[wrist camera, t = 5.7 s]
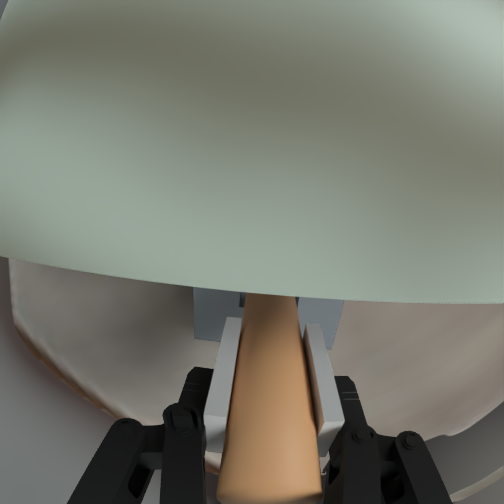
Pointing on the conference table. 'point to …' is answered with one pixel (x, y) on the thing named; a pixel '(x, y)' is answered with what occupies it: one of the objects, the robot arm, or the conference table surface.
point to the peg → (270, 412)
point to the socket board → (232, 305)
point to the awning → (258, 144)
